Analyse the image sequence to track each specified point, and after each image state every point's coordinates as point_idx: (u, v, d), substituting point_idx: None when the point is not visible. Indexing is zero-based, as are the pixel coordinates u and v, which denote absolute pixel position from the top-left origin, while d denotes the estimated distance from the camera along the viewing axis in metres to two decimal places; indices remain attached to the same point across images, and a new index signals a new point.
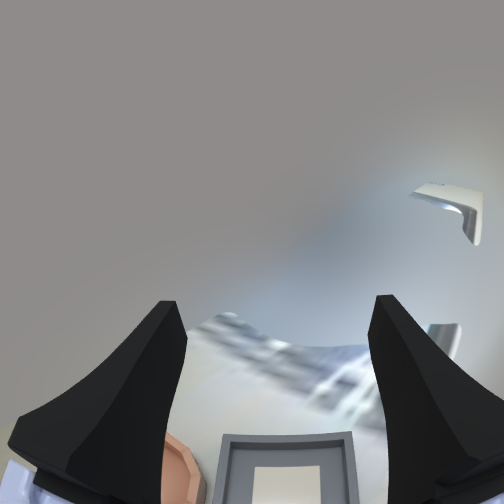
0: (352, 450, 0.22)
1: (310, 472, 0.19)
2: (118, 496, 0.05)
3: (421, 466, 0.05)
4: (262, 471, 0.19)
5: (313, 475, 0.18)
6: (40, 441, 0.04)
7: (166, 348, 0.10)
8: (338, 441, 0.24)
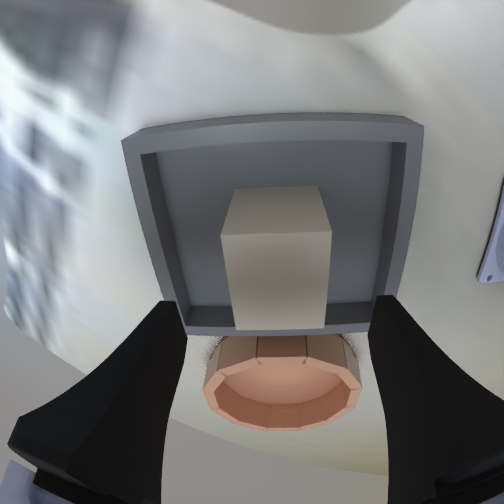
0: (166, 135, 0.12)
1: (238, 251, 0.12)
2: (118, 496, 0.05)
3: (421, 466, 0.05)
4: (243, 320, 0.14)
5: (246, 245, 0.11)
6: (40, 441, 0.04)
7: (166, 348, 0.10)
8: (145, 161, 0.13)
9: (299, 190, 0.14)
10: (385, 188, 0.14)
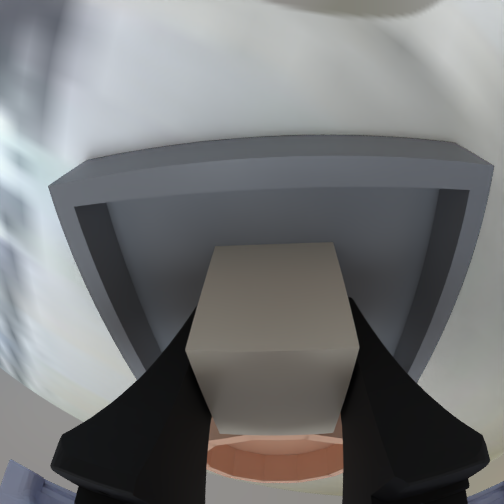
0: (104, 179, 0.08)
1: (215, 368, 0.07)
2: None
3: (363, 478, 0.05)
4: (228, 427, 0.09)
5: (225, 363, 0.07)
6: (95, 462, 0.04)
7: None
8: (85, 213, 0.09)
9: (307, 252, 0.10)
10: (424, 243, 0.10)
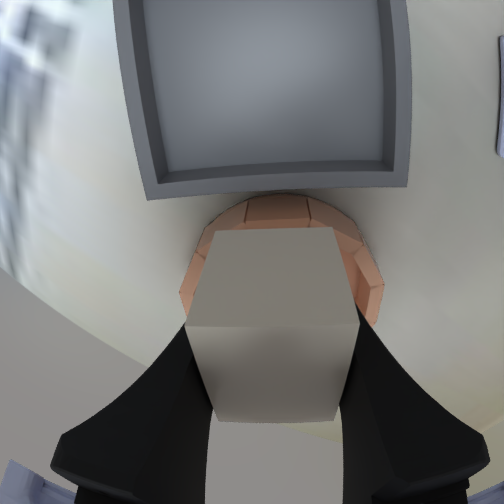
0: None
1: (214, 347, 0.07)
2: None
3: (363, 477, 0.05)
4: (226, 414, 0.09)
5: (225, 340, 0.07)
6: (95, 462, 0.04)
7: None
8: None
9: (307, 236, 0.10)
10: (375, 20, 0.11)
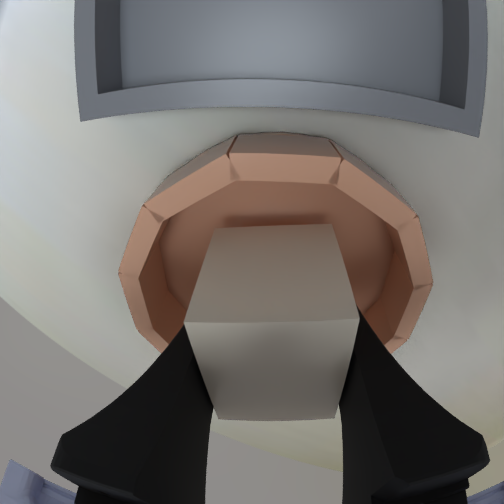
0: None
1: (213, 343, 0.07)
2: None
3: (363, 478, 0.05)
4: (227, 411, 0.09)
5: (224, 336, 0.07)
6: (96, 462, 0.04)
7: None
8: None
9: (306, 232, 0.10)
10: None
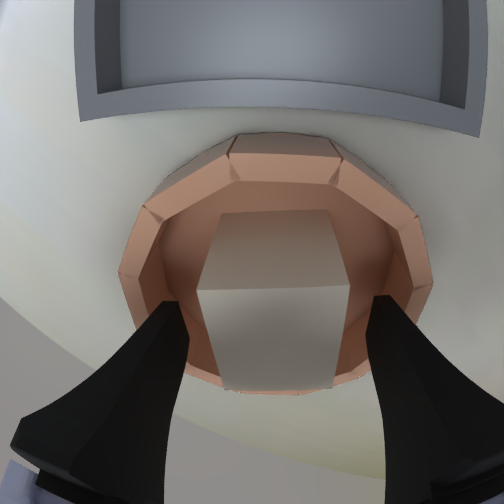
0: None
1: (222, 309, 0.08)
2: (122, 497, 0.05)
3: (417, 467, 0.05)
4: (232, 382, 0.10)
5: (232, 303, 0.08)
6: (43, 443, 0.04)
7: (169, 348, 0.10)
8: None
9: (303, 216, 0.11)
10: None
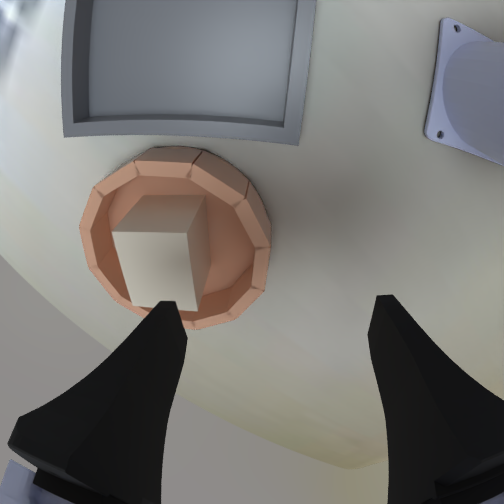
0: None
1: (124, 244, 0.15)
2: (118, 496, 0.05)
3: (421, 466, 0.05)
4: (136, 298, 0.17)
5: (128, 239, 0.15)
6: (40, 441, 0.04)
7: (166, 348, 0.10)
8: None
9: (188, 198, 0.17)
10: None
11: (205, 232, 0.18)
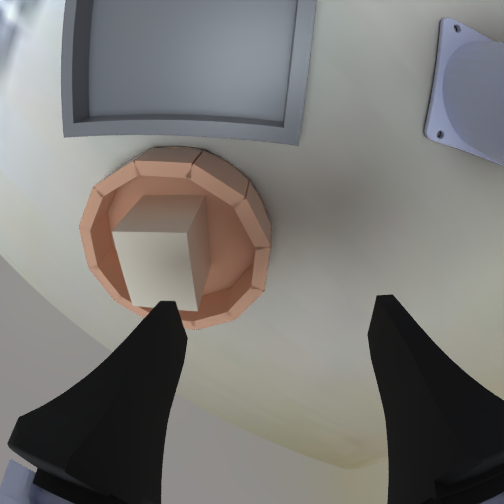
0: None
1: (124, 244, 0.15)
2: (118, 496, 0.05)
3: (421, 466, 0.05)
4: (136, 298, 0.17)
5: (128, 239, 0.15)
6: (40, 441, 0.04)
7: (166, 348, 0.10)
8: None
9: (188, 198, 0.17)
10: None
11: (205, 232, 0.18)
